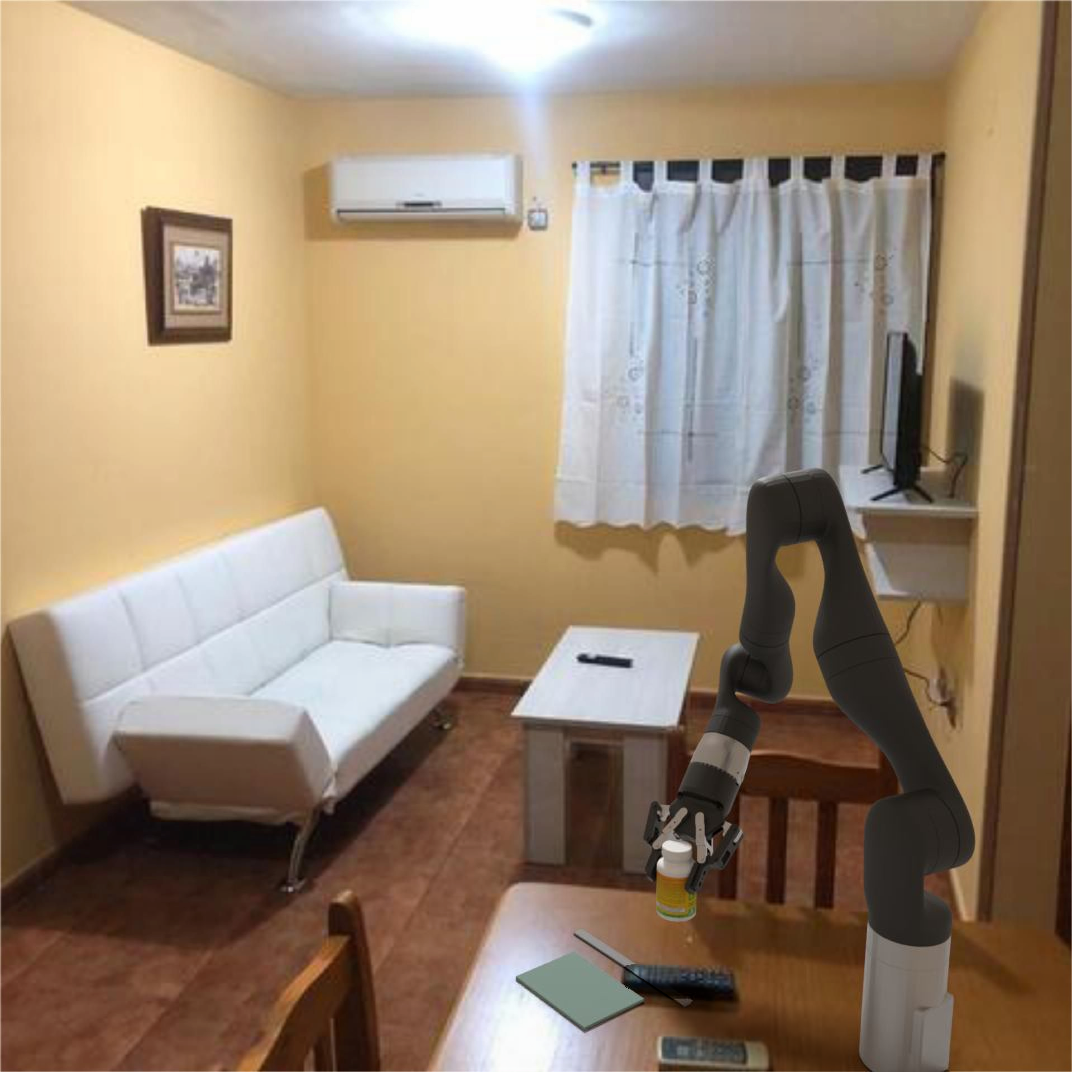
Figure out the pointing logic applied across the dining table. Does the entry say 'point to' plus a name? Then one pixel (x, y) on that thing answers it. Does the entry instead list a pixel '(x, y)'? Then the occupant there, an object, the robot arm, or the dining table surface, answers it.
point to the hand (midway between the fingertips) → (669, 885)
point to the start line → (613, 955)
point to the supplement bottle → (675, 882)
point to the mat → (579, 990)
